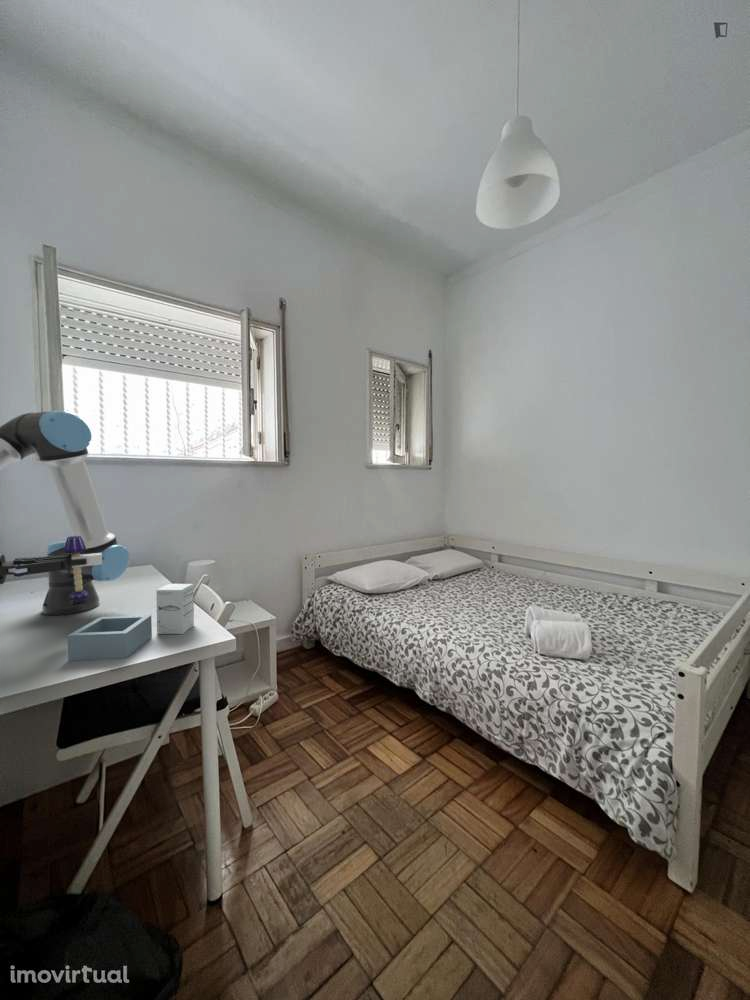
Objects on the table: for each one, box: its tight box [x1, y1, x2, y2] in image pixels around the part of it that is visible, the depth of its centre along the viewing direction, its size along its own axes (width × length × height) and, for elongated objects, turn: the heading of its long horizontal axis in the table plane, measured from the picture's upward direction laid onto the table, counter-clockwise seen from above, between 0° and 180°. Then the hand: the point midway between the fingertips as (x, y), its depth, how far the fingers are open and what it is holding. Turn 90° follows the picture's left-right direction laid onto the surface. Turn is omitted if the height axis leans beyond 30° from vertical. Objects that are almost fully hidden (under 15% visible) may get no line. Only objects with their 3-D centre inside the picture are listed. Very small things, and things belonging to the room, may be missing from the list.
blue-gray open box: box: [66, 614, 153, 662], centre depth 99 cm, size 13×13×6 cm
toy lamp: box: [64, 535, 89, 600], centre depth 103 cm, size 5×5×17 cm
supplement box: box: [156, 583, 195, 635], centre depth 111 cm, size 7×7×13 cm
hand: (101, 558), depth 106 cm, fingers closed on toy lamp, 2 cm apart
